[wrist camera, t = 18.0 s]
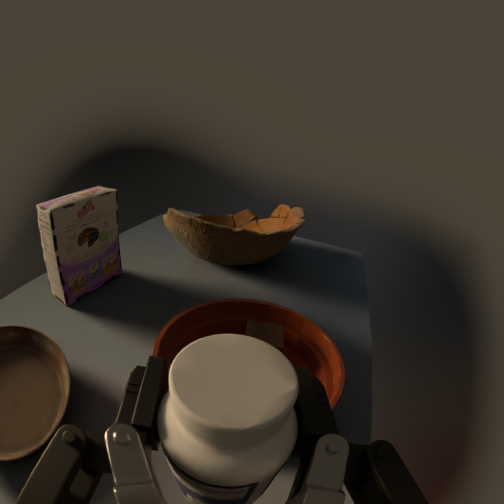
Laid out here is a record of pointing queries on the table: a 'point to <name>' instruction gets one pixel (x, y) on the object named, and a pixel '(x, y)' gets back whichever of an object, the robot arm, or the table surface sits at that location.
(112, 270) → the candy box
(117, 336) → the table surface
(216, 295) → the table surface
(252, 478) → the pill bottle
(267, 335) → the block
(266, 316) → the bowl
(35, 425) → the plant saucer
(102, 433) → the robot arm
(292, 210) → the ceramic bowl
